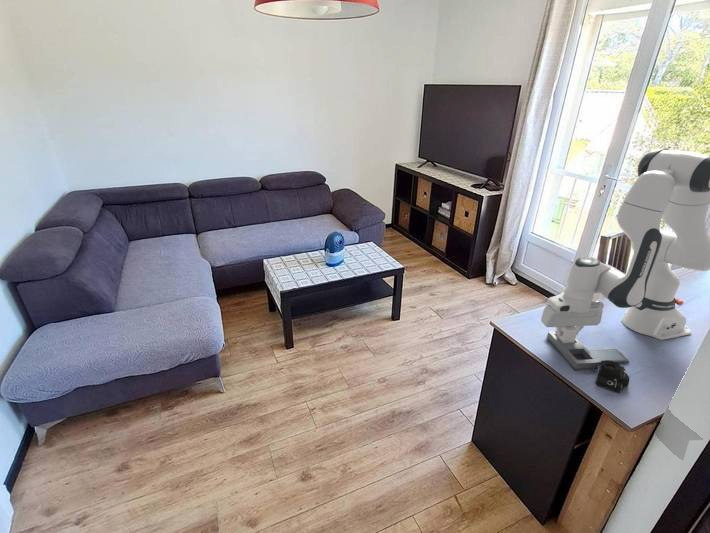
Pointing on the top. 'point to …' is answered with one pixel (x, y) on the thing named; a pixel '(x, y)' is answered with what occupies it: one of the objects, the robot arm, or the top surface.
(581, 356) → the power strip
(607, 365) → the film camera
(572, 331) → the charger
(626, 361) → the plate
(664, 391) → the top surface
